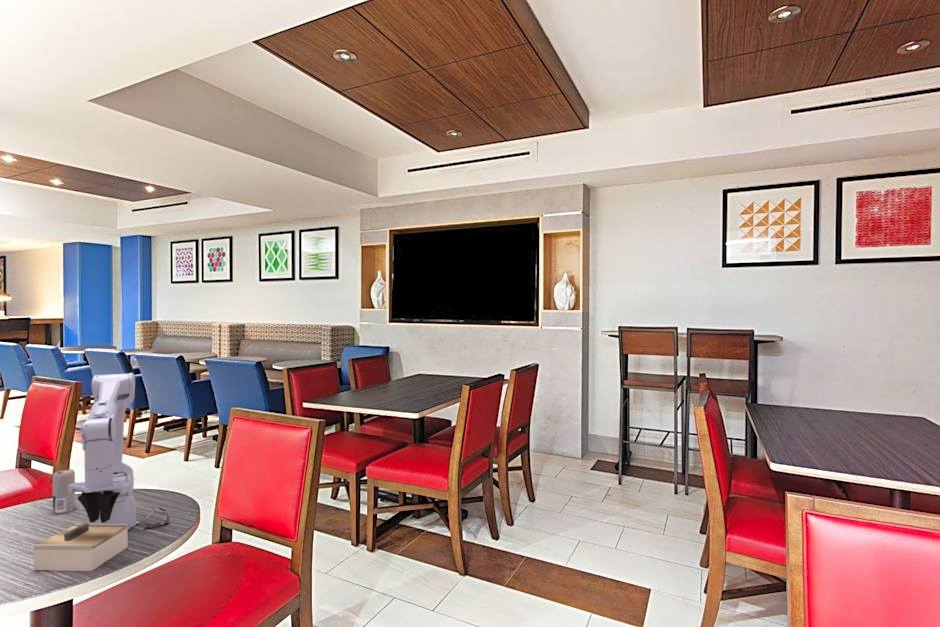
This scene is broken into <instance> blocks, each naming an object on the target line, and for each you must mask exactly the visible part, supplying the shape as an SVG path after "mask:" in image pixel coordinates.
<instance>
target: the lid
mask: <svg viewBox="0 0 940 627" xmlns="http://www.w3.org/2000/svg"><path fill="white" fill-rule="evenodd" d="M81 524H82V525H81V526H74V525H72V526H70V527H68V528H66V529H64V530H62V531H61V532H59V533H56V534H55V535H52V536H50V537H49V538H46V539H45V540H43V541H42V542H39V543H37V544H36V545H93V547H95V546H97V545H98V544H100V543H102V542H103V541H105V540H107V539H108V538H110V537H112V536H113V535H115V534H117V533H118V532H120V531H122V530H123V529H125V527H124V526H89V524H90V523H81Z"/></svg>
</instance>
